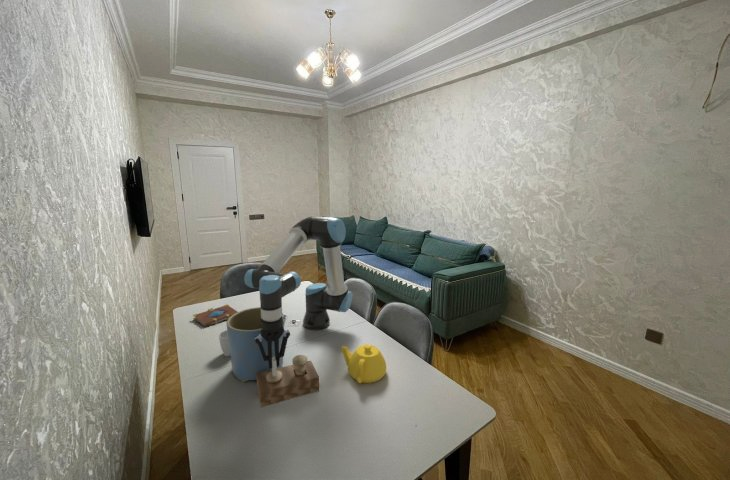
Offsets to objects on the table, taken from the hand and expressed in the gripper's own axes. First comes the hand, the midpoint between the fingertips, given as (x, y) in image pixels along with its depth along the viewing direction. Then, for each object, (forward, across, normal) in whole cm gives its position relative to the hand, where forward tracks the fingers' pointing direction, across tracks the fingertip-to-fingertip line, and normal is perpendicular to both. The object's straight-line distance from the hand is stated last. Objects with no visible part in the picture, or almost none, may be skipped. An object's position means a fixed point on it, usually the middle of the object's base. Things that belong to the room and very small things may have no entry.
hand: (274, 374), depth 117 cm
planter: (+8, +4, -19) cm, 21 cm away
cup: (+8, +15, -36) cm, 40 cm away
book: (+9, +19, -80) cm, 83 cm away
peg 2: (+3, -10, 0) cm, 10 cm away
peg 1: (+8, 0, 0) cm, 8 cm away
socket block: (+8, -5, 0) cm, 9 cm away
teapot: (+8, -36, +3) cm, 37 cm away
